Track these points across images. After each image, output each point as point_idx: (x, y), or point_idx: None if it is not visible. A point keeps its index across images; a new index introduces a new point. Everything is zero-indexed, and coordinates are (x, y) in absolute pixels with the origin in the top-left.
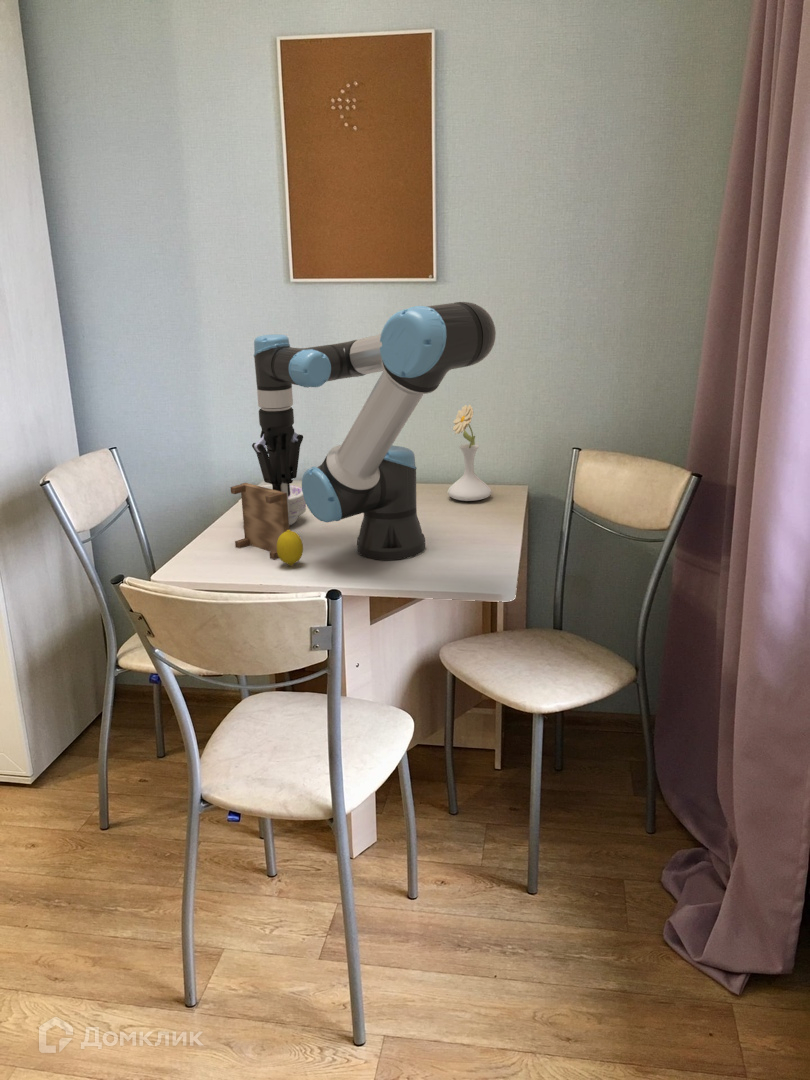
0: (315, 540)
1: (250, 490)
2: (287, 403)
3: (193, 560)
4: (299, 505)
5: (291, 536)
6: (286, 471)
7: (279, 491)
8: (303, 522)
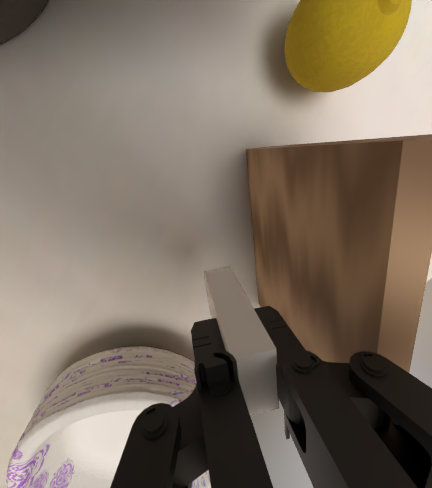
0: (123, 208)
1: None
2: None
3: None
4: (79, 381)
5: None
6: (258, 464)
7: (399, 220)
8: (74, 357)
